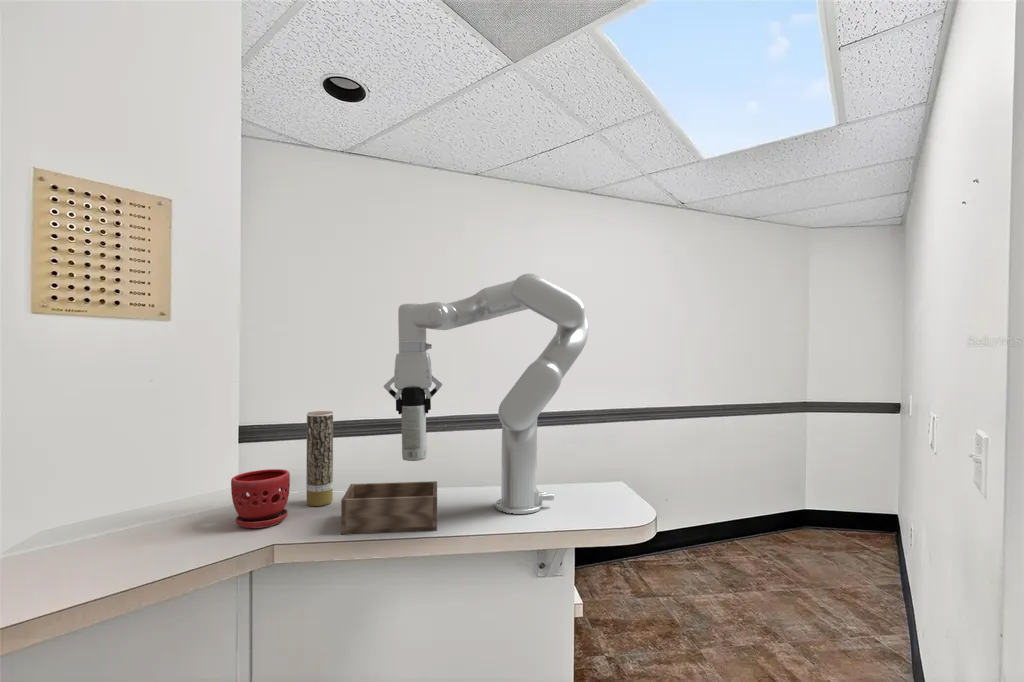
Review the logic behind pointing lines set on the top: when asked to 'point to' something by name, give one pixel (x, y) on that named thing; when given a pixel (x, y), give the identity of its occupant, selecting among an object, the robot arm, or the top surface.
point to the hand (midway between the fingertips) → (413, 412)
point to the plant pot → (260, 497)
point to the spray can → (413, 424)
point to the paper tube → (319, 458)
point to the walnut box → (389, 508)
